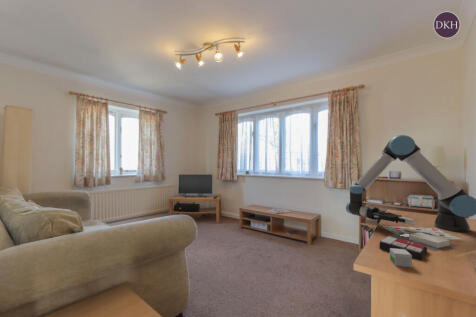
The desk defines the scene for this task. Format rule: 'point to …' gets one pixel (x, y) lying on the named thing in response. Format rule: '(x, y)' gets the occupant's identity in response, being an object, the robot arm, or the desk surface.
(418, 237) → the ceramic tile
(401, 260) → the small box
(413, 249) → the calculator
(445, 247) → the tile mat
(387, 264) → the desk surface
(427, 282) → the desk surface
